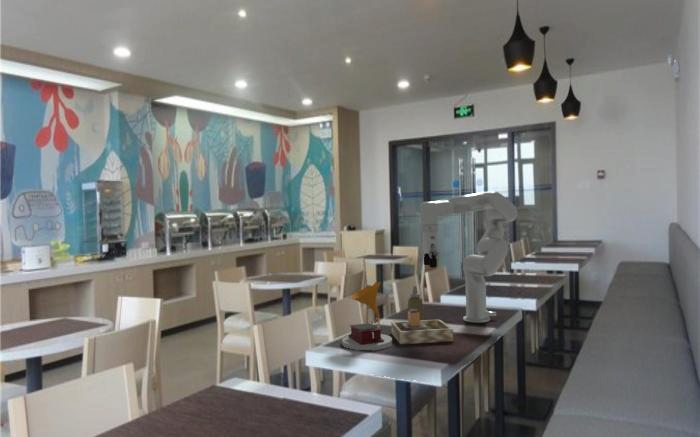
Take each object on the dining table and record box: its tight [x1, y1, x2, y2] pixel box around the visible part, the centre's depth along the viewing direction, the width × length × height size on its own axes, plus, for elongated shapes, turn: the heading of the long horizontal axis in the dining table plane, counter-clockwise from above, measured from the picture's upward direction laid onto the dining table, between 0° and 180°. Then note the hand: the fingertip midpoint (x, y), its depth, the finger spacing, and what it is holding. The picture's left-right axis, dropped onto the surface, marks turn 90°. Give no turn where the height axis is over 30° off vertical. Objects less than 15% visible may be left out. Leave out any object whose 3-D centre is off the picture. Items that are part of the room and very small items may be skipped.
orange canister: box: [407, 309, 420, 327], centre depth 206 cm, size 4×4×11 cm
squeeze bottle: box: [406, 285, 425, 321], centre depth 232 cm, size 8×8×18 cm
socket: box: [401, 322, 427, 331], centre depth 206 cm, size 9×9×4 cm
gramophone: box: [341, 281, 393, 351], centre depth 199 cm, size 20×20×25 cm
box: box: [390, 319, 454, 345], centre depth 207 cm, size 22×18×5 cm
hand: (430, 266), depth 222 cm, fingers open, 9 cm apart
